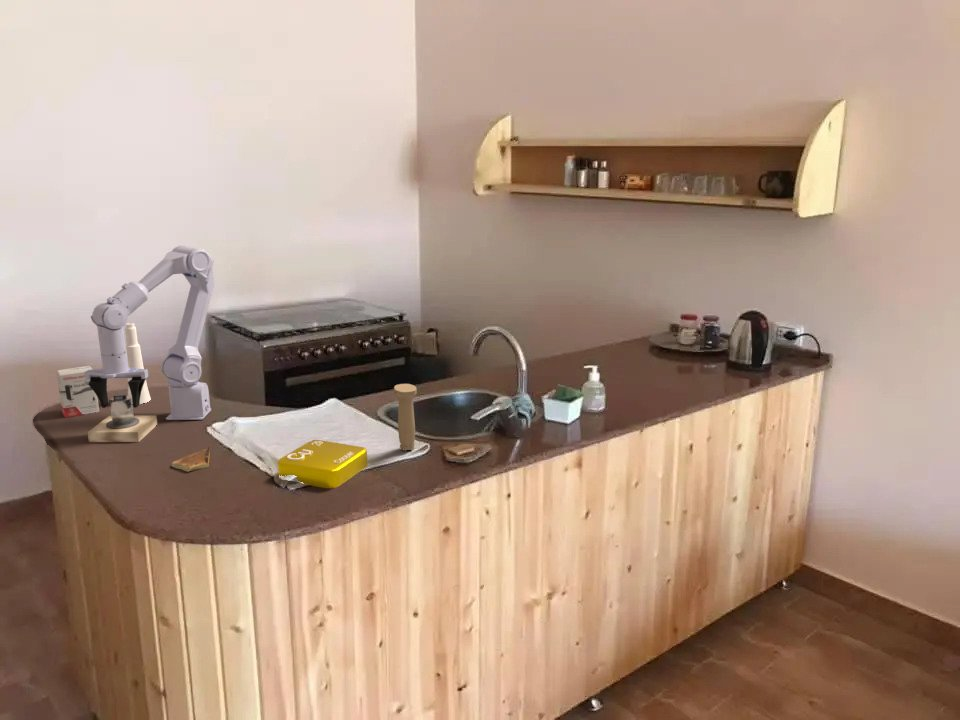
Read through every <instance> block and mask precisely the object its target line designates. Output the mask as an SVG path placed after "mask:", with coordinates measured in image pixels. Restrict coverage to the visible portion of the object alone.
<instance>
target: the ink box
mask: <svg viewBox="0 0 960 720" xmlns="http://www.w3.org/2000/svg"><path fill="white" fill-rule="evenodd" d="M92 369H94V368H93V367H92V366H90V365H85V366H78V367H72V368H64V369H59V370H57V371H56V378H57V385H58V391H59V393H58V394H59V399H60V400H59V401H60V408H61V413H62V415H63V417H64V418H72V417H77V416H84V415H88V414H89V413H90V414H95V412H96V413H99V412H100V408H99V406H100V405H99V399H98V397H97V395H96V394H95V392H94V391H93V389H92V388H91V387H90V386H89V384H88V382H90V379H85V371H87V370H92ZM83 414H84V415H83ZM90 414H89V415H90Z"/></svg>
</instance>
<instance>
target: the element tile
mask: <svg viewBox="0 0 960 720" xmlns="http://www.w3.org/2000/svg"><path fill="white" fill-rule="evenodd" d="M367 450H368V449H367V448H365V447H363V446H357V445H353V444H352V445H351V444H346V443H340V442H339V443H338V442H333V441H327V440H320V439H312V440H310V441H308V442H306V443H304V444H302V445H301V446H299V447H298V448H296V449H295V450H294V449H293V451H291V452H289V453H288V454H286V455H284V456H282V457H281V458H279V459H278V460H277V462H276V463H277V474H279V475H280V476H281V475H282V476H285V475H286V476H287V475H295V476H297V480H298V481H300V482H303V483H304V484H303V485H307V486H312V487H318V488H323V489H336V488H339V487H340V486H341V485H343V484H345V483H346V482H347V481H348V480H350V479H352V478H353V477H354V476H356V475H357V474H358V473H360V472H361V471H362V470H364V469H366V468H367V467H368V452H367Z"/></svg>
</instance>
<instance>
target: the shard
mask: <svg viewBox="0 0 960 720" xmlns="http://www.w3.org/2000/svg"><path fill="white" fill-rule="evenodd" d="M210 449H211V448H210V447H209V446H208V447H207V448H205V449H202V450H200V451H197V452H193V453H190V454H187V455H186V456H185V455H184V456H183V457H180V458H178V459H176V460H174V461H173V462H171V467H172V468H174V469H179V470H182V471H184V472H186V473H189V472H191V471H196V470H200V469H207V468H209V466H210V456H211V455H210Z"/></svg>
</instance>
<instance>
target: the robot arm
mask: <svg viewBox="0 0 960 720" xmlns="http://www.w3.org/2000/svg"><path fill="white" fill-rule="evenodd" d="M214 262H215V261H214V259H213V258H212V256H211V255H210V253H209V252H208V251H207V250H206V249H204V248H202V247H201V248H199V247H196V248H195V247H190V246H186V245H178V246H175V247H174V248H173V249H171V250H170V251H168V252H167V253H166V254H165V255H164V258H162V260H161V261H159V263H157V264H156V265H155V266H154V267H153V268H152V269H151V270H150V271H148V272H147V273H146V274H145V275H144V276H143V277H142V278H141V279H140V280H139V281H137V282H128V283H123V285H121V289H120V290H119V291H118V292H116V293H115V294H114V295H113V296H112V297H111V296H109V297H108V298H106V302H103V303H99V304H97V305H96V306H95V307H94V308H93V311H92V315H90V319H91V322H92V323H93V324H94V325H95V326H96V327H97V328H96V329H97V336H98V343H99V350H100V357H101V365H102V368H96V369H95V368H93V369H92V370H87V371H85V379H90V382H88V384H89V386H90V387H91V388H92V389H93V391H94V392H95V394H96V395H97V398H98V402H99V403H100V405H101V408H102V409H105V408H107V407H108V406H109V397H108V396H109V395H108V388H107V387H108V384H107V383H108V379H128V378H132V380H130V381H128V380H127V386H128V385H129V387H130V390H131V394H132V403H133V405H132V407H133V409H134V408H138V407H139V406H140V405H141V404H140V395H141V391H142V387H143V385H144V382H145V380H146V381H147V378H148V377H149V371H148V368H144V369H138V368H129V366H128V359H127V351H126V345H127V342H126V335H125V328H124V326H126V324H127V323H128V322H127V321H128V317H129V316H130V315H132V313H134V312H135V311H136V310H137V309H139V308H140V307H141V306H142V305H143V304H145V303H146V302H147V301H148V299H149V297H148V296H149V293H150V292H151V291H153V290H154V289H155V288H157V287H158V286H159V285H161V284H162V283H164V282H165V281H166V280H167V279H169V278H170V277H171V276H173V275H183V276H184V277H185V279H186V280H187V282H188V283H189V284H190V287H189V291H188V295H187V298H186V304H185V307H184V312H183V315H182V318H181V322H180V326H179V331H178V335H177V339H176V342H175V344H174V345H173V346H172V347H170V349H169V350H168V353H167V355H166V356H165V358H164V359H163V361H162V363H161V366H160V368H161V369H160V370H161V373H162V375H163V376H164V377H165V378H166V379H167V385H168V386H167V387H168V395H169V403H170V404H169V405H170V412H171V413H170V414H168V416H167V417H165V419H166V421H191V420H192V421H193V420H195V421H196V420H197V421H200V420H201V421H202V420H204V418H206V416H207V415H208V414H209V413H210V412H212V408H211V402H210V391H209V386H208V384H207V382H200V381H199V380H200V378H201V376H202V359H203V357H202V356H201V353H200V352H199V345H200V341H201V339H202V338H201V337H202V333H203V329H204V325H205V321H206V317H207V314H208V311H209V310H208V309H209V307H210V306H209V305H210V303H211V298H212V294H213V290H214V286H215V280H214V279H215V278H214V272H213V266H214Z"/></svg>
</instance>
